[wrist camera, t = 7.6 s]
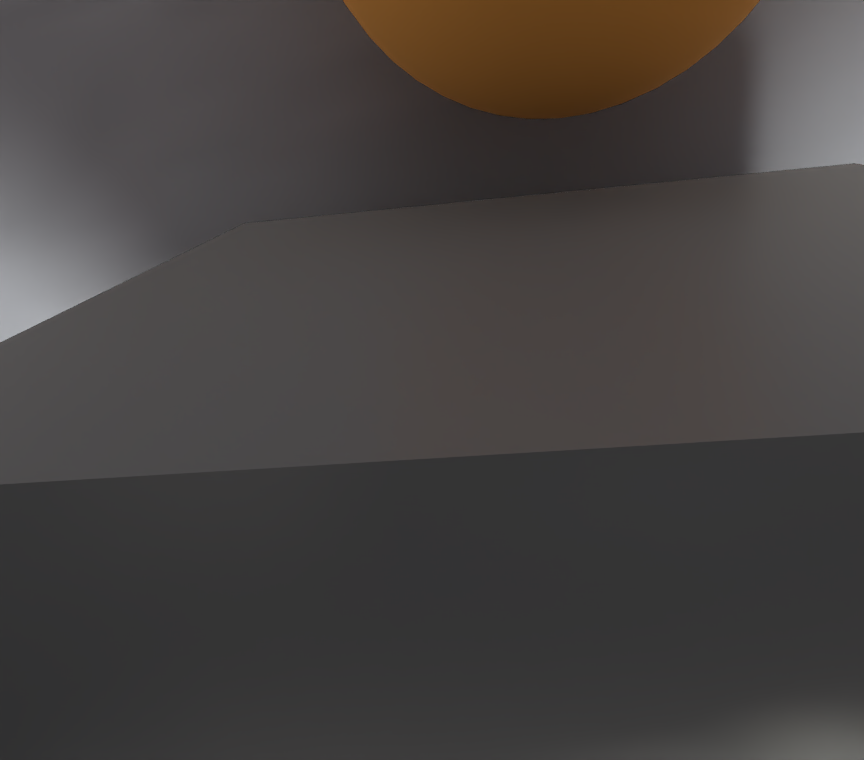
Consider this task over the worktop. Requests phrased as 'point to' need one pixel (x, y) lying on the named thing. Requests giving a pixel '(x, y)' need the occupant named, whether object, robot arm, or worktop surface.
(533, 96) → the ball
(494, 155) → the worktop surface
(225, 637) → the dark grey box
